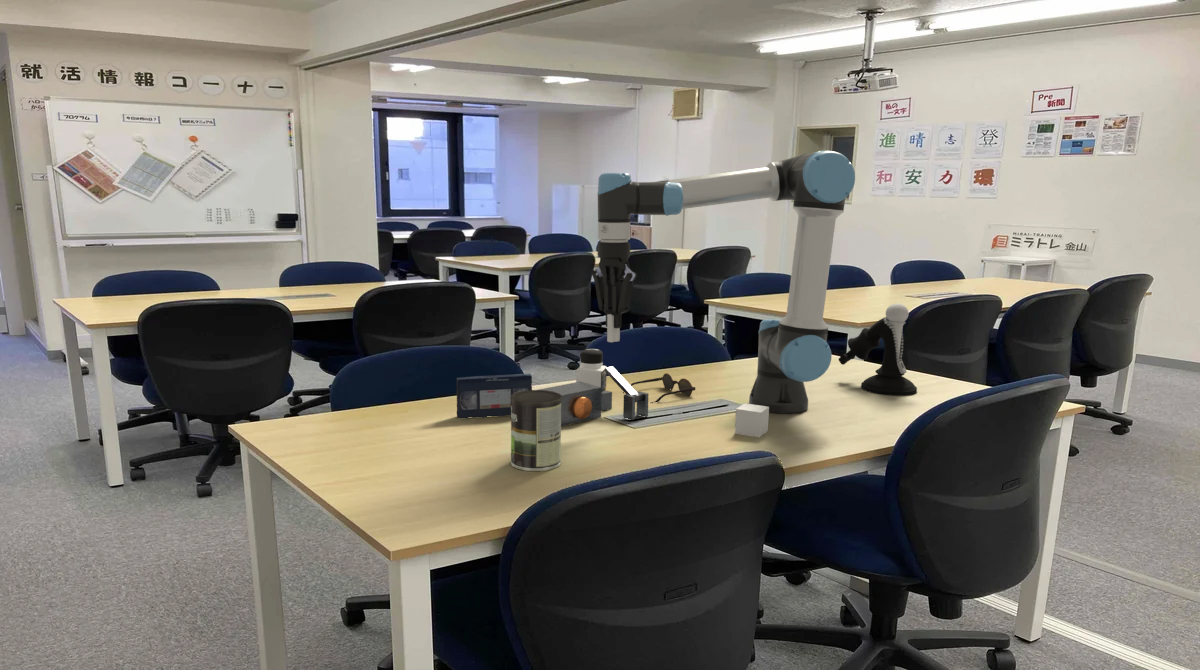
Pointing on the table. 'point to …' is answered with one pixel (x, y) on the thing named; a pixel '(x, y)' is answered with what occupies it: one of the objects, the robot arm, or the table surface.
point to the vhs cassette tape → (489, 394)
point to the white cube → (751, 420)
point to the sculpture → (892, 366)
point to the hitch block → (573, 392)
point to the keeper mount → (626, 404)
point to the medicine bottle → (592, 368)
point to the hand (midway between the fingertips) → (613, 341)
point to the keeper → (623, 383)
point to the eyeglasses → (671, 385)
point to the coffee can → (536, 430)
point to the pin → (581, 407)
